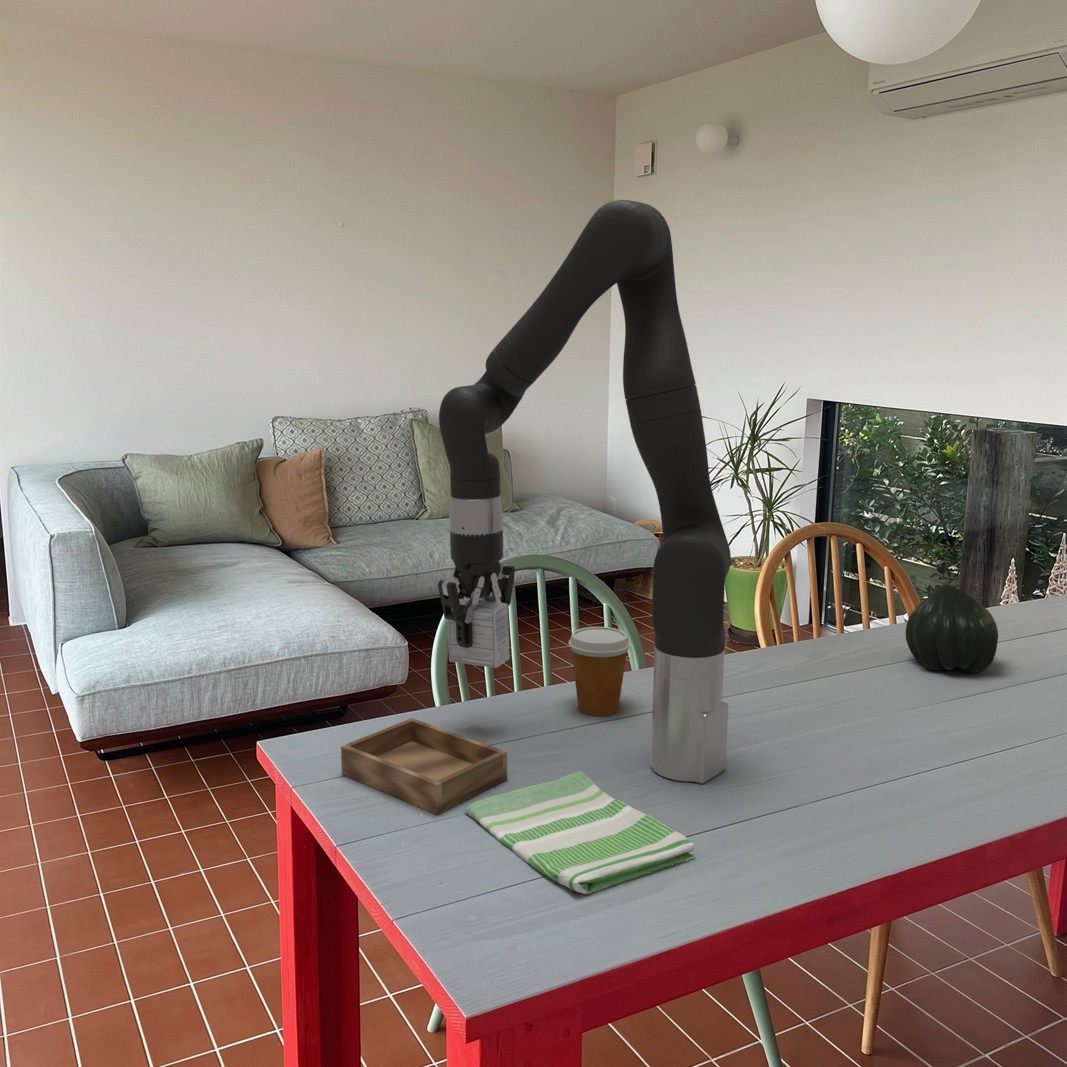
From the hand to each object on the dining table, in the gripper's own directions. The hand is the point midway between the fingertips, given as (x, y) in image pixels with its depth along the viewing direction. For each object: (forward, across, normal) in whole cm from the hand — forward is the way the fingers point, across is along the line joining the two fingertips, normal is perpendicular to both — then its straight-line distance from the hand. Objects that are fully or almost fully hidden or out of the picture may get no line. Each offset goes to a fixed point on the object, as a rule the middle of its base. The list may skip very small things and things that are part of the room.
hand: (479, 641), depth 153 cm
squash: (+15, +75, -42) cm, 87 cm away
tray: (+14, -16, -5) cm, 22 cm away
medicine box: (+3, 0, 0) cm, 3 cm away
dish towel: (+15, -15, -30) cm, 37 cm away
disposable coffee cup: (+14, +19, -8) cm, 25 cm away
